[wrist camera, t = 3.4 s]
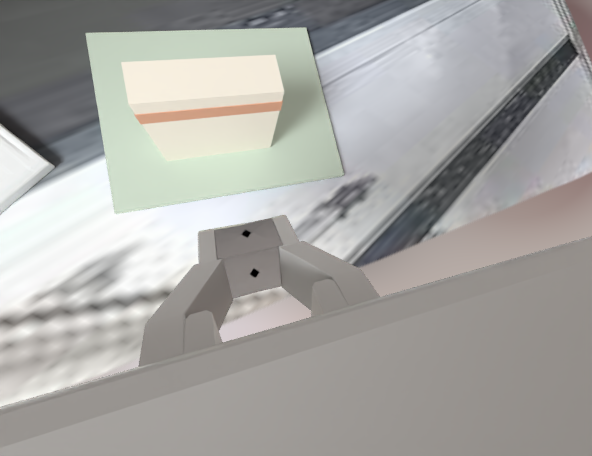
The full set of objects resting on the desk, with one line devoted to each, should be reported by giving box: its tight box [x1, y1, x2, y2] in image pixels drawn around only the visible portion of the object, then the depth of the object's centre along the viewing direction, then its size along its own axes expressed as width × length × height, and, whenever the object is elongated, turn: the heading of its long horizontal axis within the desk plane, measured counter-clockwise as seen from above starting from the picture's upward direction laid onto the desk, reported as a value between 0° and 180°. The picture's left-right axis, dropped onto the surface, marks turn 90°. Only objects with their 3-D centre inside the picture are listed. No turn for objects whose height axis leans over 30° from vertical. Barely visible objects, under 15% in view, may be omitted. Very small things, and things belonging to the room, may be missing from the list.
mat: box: [86, 28, 344, 214], centre depth 24 cm, size 20×16×1 cm
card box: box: [121, 55, 284, 161], centre depth 20 cm, size 9×3×8 cm, turn 103°
